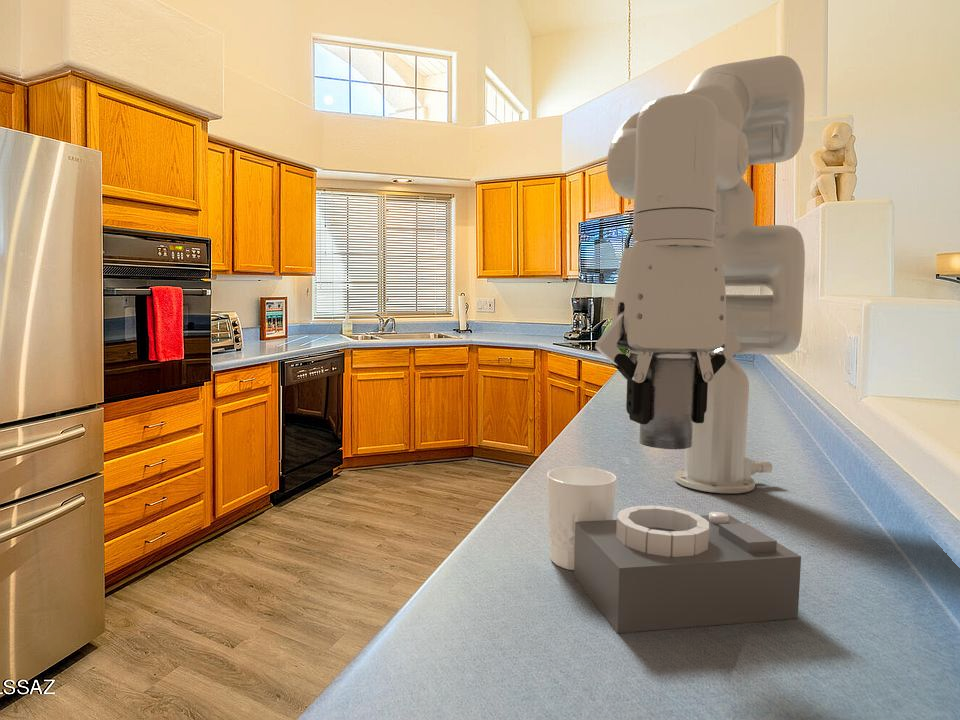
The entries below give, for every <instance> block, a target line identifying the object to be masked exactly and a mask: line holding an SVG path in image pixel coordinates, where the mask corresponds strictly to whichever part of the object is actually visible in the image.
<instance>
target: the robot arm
mask: <svg viewBox="0 0 960 720" xmlns="http://www.w3.org/2000/svg"><path fill="white" fill-rule="evenodd" d="M805 103H806V102H805V82H804V77H803V73H802V71H801V68H800V66H799V64H798V63H797V62H796V61H795V60H794V59H793V58H792V57H790V56H787V55H779V54H778V55H773V56H767V57H761V58H756V59H755V58H753V59H748V60H743V61H742V60H741V61H735V62H728V63H724V64H719V65H715V66H711V67H708V68H707V69H705V70H703V71H702V72H700V73H699V74H698V75H697V76H695V78H694V79H693V80H692V81H691V83H690V84H689V86H688V87H687V89H686V91H685V92H683V93H682V94H680V93H679V94H671V95H666V96H662V97H659V98H656V99H653V100H651V101H649V102H648V103H647V104H645V105H644V106H643V107H642V109H641V110H640V111H638V112H637V113H634V114H633V115H631V116H630V117H628V118H627V119H626V120H625V121H624V122H623V123H622V124H621V126H620V127H619V128H618V129H617V131H616V133H615V134H614V136H613V138H612V140H611V141H610V146H609V148H608V152H607V159H606V174H607V180H608V181H609V182H608V183H609V185H610V187H611V188H612V190H613V191H614V193H615V194H616V195H618V197H621V198H623V199H627V200H633V216H632V217H633V218H632V219H633V221H632V244H631V245H632V246H631V247H627V248H624V249H623V250H622V251H623V252H622V255H621V259H620V263H619V268H618V274H617V279H616V283H615V292H614V299H613V306H612V307H613V308H612V320H611V323H610V324H609V326H608V327H607V328H606V330H605V331H604V332H603V333H602V334H601V336H600V337H599V338H598V339H597V340H596V342H595V345H594V347H595V350H596V351H597V352H599V353H600V354H601V355H602V356H603V357H605V359H607V360H608V361H609V362H611V364H612V365H613V366H614V367H615V368H616V369H617V371H618V372H619V373H620V374H621V375H622V378H623V379H624V380H626V400H625V402H626V404H625V407H626V408H625V409H626V412H627V414H628V415H629V420H630V421H632V422H635V423H637V424H639V425H640V424H647V423H649V421H650V394H651V385H650V384H649V383H647V382H646V374H647V371H648V368H649V365H650V361H651V358H652V355H653V352H688V353H693V358H692V359H696V365H695V389H694V414H693V438H692V447H690V448H686V449H684V468H681V469H678V470H676V471H675V473H674V481H675V482H676V483H677V484H679V485H680V486H683V487H686V488H689V489H691V490H696V491H701V492H706V493H707V492H708V493H713V494H731V495H733V494H744V493H748V492H751V491H753V490H754V489H755V487H756V486H755V485H756V483H755V482H756V481H755V479H754V478H753V477H752V476H754V475H756V473H759V474H767V473H768V474H770V473H772V471H773V464H772V463H771V461H769V460H765V461H757V462H756V461H755V459H751V458H748V457H747V439H748V438H747V437H748V420H749V419H748V416H749V414H748V413H749V395H750V383H749V378H748V376H747V374H746V372H745V370H744V369H743V367H741V365H740V364H739V363H738V362H737V361H736V359H734V357H733V356H735V355H742V354H747V355H749V354H750V355H770V356H771V355H773V356H775V355H776V356H783V355H788V354H791V353H794V351H796V350H797V348H798V347H799V344H800V342H801V338H802V331H803V315H804V313H803V312H804V292H805V291H804V290H805V289H804V288H805V267H806V256H805V255H806V251H805V250H806V249H805V243H804V238H803V235H802V234H801V232H800V231H799V230H798V228H795V227H794V226H790V225H784V224H774V225H773V224H772V225H755V222H754V221H755V220H754V217H755V216H754V215H755V199H756V198H755V193H754V191H753V190H752V188H751V187H750V185H749V184H748V183H747V182H746V180H745V178H743V176H744V175H745V173H746V172H747V171H748V166H754V165H766V164H779V163H783V162H786V161H789V160H792V159H793V158H794V157H795V156H796V155H797V154H798V152H799V150H800V149H801V147H802V143H803V140H804V134H805V133H804V131H805V130H804V129H805ZM726 287H765V288H768V289H770V290H771V292H772V294H726ZM620 348H621V349H626V350H628V353H627V354H625V353H623V352H622V351H621V350H620Z"/></svg>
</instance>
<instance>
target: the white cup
mask: <svg viewBox="0 0 960 720" xmlns="http://www.w3.org/2000/svg"><path fill="white" fill-rule="evenodd" d="M617 481H618V480H617V476H616V474H615V473H612V472H610V471H608V470H604V469H602V468H601V469H600V468H595V467H587V466H563V467H557V468H554V469H550V470H548V471H547V473H546V483H547V484H546V488H547V489H546V491H547V496H546V497H547V516H548V517H547V518H548V519H547V520H548V521H547V524H548V525H547V526H548V536H549V543H550V560H551V562H553V564H555V565H556V566H558V567H560V568H563V569H564V570H565V569H566V570H569V571H574V554H575V522H581V521H602V520H615V507H616V491H617V483H618V482H617Z"/></svg>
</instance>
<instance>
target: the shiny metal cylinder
mask: <svg viewBox="0 0 960 720" xmlns="http://www.w3.org/2000/svg"><path fill="white" fill-rule="evenodd" d="M692 358H693V353H688V352H653V355H652V358H651V361H650V365H649V368H648V371H647V374H646V382H647V383H649V384H650V385H651V394H650V421H649V423H647V424H639V434H638V435H639V438H638V443H639V444H641V445H643V446H646V447H650V448H653V449H654V448H655V449H662V450H685V449H686V448H690V447H692V438H693V414H694V389H695V365H696V359H692Z"/></svg>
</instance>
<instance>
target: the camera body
mask: <svg viewBox="0 0 960 720" xmlns="http://www.w3.org/2000/svg"><path fill="white" fill-rule="evenodd" d="M801 565H802V556H801V555H800V554H798V553H796V552H794V551H793V550H791V549H789V548H787V547H786V546H784V545H782V544H780V543H779V542H778V540H776V539H774V538H773V537H770V536H769V535H768V534H766V533H764V532H762V531H760V530H759V529H757V528H755V527H753V526H751V525H750V524H749V523H747V522H742V521H741V520H738V519H737V518H735V517H734V516H732V515H730V514H727V513H725V512H721V511H710V512H709V513H708V514H707V515H705V514H704V515H699V514H697V513H695V512H692V511H688V510H685V509H683V508H678V507H677V508H676V507H672V506H663V505H653V504H651V505H635V506H633V505H632V506H629V507H627V508H623V509H621V510H619V511H618V513H617V516H616V519H614V520H602V521H581V522H575V554H574V570H573V576H574V578H575V579H576V580H577V582H578V583H579V584H580V585H581V587H582V588H583V590H584V591H585V592H586V594H587V596H588V597H590V599H591V601H592V602H593V603H594V604H595V605H596V608H598V609H599V611H600V612H601V614H602V615H603V616H604V617H605V619H606V620H607V622H608V623H609V624H610V626H611V627H612V628H613V630H614V631H615V633H616V634H624V633H635V632H636V633H638V632H649V631H658V630H659V631H660V630H661V631H662V630H672V629H685V628H686V629H687V628H694V627H696V628H697V627H707V626H709V627H710V626H720V625H721V626H723V625H732V624H743V623H745V624H746V623H758V622H765V621H766V622H767V621H769V622H770V621H780V620H781V621H782V620H792V619H794V620H795V619H798V618H799V605H800V604H799V601H800V585H801V583H800V582H801V568H802V567H801Z"/></svg>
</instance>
